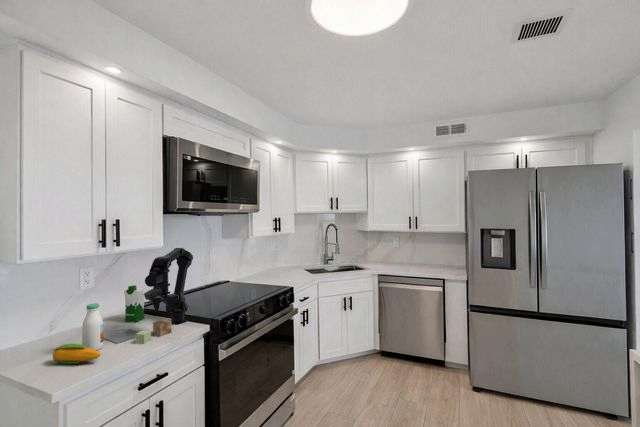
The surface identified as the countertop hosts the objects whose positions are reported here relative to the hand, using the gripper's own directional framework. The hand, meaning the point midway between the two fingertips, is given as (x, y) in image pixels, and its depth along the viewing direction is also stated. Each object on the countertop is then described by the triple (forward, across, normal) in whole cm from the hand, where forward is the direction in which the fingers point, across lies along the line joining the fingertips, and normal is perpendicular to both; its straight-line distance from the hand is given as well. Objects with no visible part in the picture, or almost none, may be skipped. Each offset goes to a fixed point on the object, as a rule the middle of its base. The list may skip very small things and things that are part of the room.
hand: (162, 313), depth 163 cm
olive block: (+10, +2, -11) cm, 15 cm away
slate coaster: (+10, -13, -12) cm, 20 cm away
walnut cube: (+10, 0, 0) cm, 11 cm away
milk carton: (+11, -33, +5) cm, 35 cm away
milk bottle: (+10, -10, -27) cm, 31 cm away
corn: (+10, -1, -37) cm, 38 cm away
